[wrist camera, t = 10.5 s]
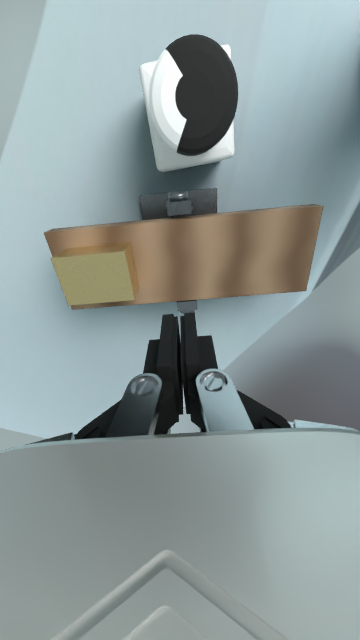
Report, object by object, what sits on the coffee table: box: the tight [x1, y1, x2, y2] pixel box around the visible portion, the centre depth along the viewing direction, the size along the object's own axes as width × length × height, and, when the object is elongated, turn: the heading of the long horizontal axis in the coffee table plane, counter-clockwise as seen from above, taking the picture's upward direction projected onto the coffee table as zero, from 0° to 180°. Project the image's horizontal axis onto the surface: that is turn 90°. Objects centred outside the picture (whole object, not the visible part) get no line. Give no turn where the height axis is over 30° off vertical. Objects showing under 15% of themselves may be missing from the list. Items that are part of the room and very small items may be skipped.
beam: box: [44, 204, 323, 309], centre depth 27 cm, size 28×9×2 cm, turn 95°
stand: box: [139, 188, 217, 313], centre depth 31 cm, size 19×14×10 cm
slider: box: [51, 242, 140, 306], centre depth 25 cm, size 7×5×4 cm
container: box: [139, 35, 238, 172], centre depth 22 cm, size 8×8×13 cm
